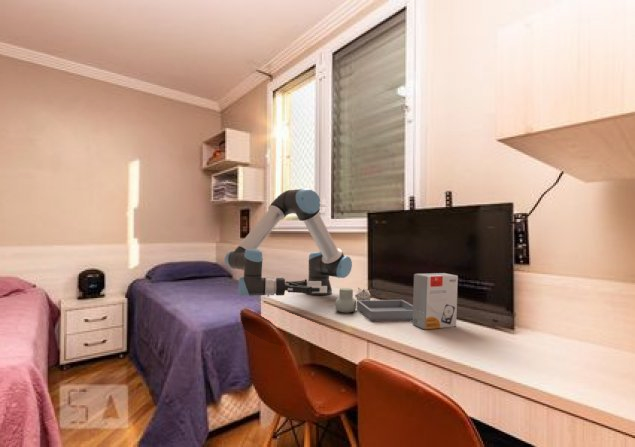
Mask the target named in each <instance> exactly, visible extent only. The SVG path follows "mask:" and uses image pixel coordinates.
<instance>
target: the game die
mask: <svg viewBox="0 0 635 447" xmlns="http://www.w3.org/2000/svg"><path fill="white" fill-rule="evenodd" d="M357 288H358V291H357V292H356V294H355V295H354V297H355V298H356V301H360V300H372V299H373V295H372V294H371V293H370V287H368V289H367V288H366V289H365V288H360V287H357Z"/></svg>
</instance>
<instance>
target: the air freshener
mask: <svg viewBox="0 0 635 447" xmlns="http://www.w3.org/2000/svg"><path fill="white" fill-rule="evenodd" d="M353 290H354V289H353V288H350V287H341V288H339V296H338V297H337V298H336V300H335V302H334V303H335V304H334V308H335V310H336V311H338V312H340V313H344V314H345V313H350V314H351V313H353V312H354V311H355V310H357V299H355V298H354V297H353V296H354V295H353V294H354V291H353Z"/></svg>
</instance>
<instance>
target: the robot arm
mask: <svg viewBox="0 0 635 447" xmlns="http://www.w3.org/2000/svg"><path fill="white" fill-rule="evenodd" d="M320 207H321V198H320V196H319V194H318V192H316V190H314V189H311V188H301V189H288V190H285V191H284V192H282V193H281V194H279V195H278V196H277V197H276V198H275V199H273V201H272V202H271V203H270V204H269V206H268V207H267V211H266V212H265V214H264V215H263V216H262V217H261V218H260V220H258V222H257V223H256V224H255V226H254V227H253V228H252V229H251V230H250V232H249V233H248V234H247V235H246V236H245V237H244V239H243V240H242V241H241V242H240V244H238V246H237V247H236V248H235V249H234V250H233V251H232V250H231V251H229V252H227V253H226V254H225V256H224V263H225V264H226V266H227V267H229V268H230V269H233V270H234V269H235V270H241V271H243V276H242V277H239V278H238V287H237V288H238V295H240V296H250V297H251V296H267V297H268V298H269V297H270V296H275V295H276V296H284V295H285V294H286V292H285V291H287V293H296V294H297V293H298V294H306V295H310V296H312V295H313V296H328V295H332V294H333V288H332V284H331V281H330V277H332V278H338V279H346V277H348V276H349V275H350V273H351V272H352V268H353V261H352V259H351V257H350V256H348V255H344V253H343V250H342V249H340V248H339V247H337V245H336V244H335V242H334V239H333V238H332V236H331V234H330V232H329V230H328V228H327V226H326V224H325V222H324V221H323V219H322V216H321V214H320V211H321V208H320ZM290 214H295V215H296V218H298V220H299V221H300V222H303V223H304V225H305V226H306V229H307V230H308V232H309V234H310V235H311V237H312V239H313V241H314V242H315V244H316V246H317V249H318V251H319V252H311V253H309V255H308V279H304V280H290V281H288V280H287V281H286V278H285V277H276V278H275V277H262V273H263V260H264V258H263V251H262V250H261V249H258V248H259V247H260V246H261V245H262V243H263V242H264V241H265V239H266V238H267V237H268V236H269V234H270V233H271V232H272V231H273V230H274V228H275V227H276V226H277V224H278V223H279V222H280V221H281V220H284V219H285V218H286V217H287V216H288V215H290Z"/></svg>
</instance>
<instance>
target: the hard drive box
mask: <svg viewBox="0 0 635 447" xmlns="http://www.w3.org/2000/svg"><path fill="white" fill-rule="evenodd" d="M458 278H459V276H458V275H457V274H450V273H446V272H442V273H441V272H439V273H438V272H436V273H435V272H433V273H431V272H430V273H414V274H413V296H412V297H413V298H412V299H413V300H412V305H413V320H412V322H411V323H412V325H413V326H416V327H418V328H420V329H423V330H434V329H442V328H443V329H444V328H453V327H454V326H456V327H457V314H458V313H457V310H458V282H459V280H458Z"/></svg>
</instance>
